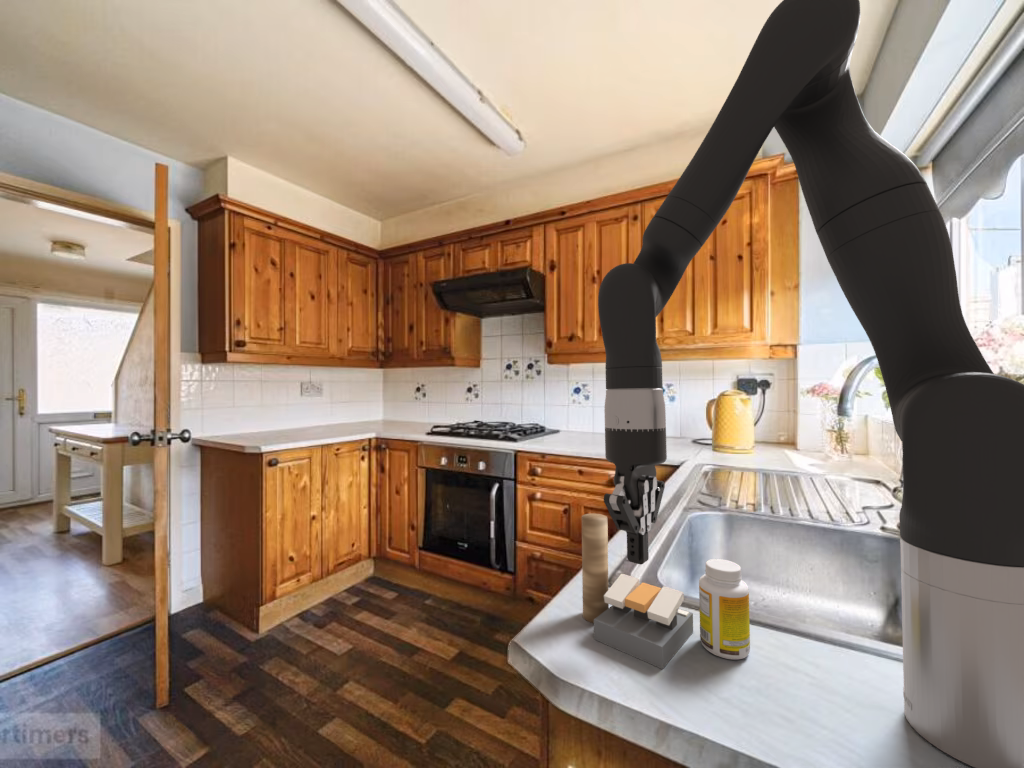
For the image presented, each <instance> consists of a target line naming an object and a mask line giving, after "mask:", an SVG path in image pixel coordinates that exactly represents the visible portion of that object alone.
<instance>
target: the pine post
mask: <svg viewBox="0 0 1024 768" xmlns="http://www.w3.org/2000/svg"><path fill="white" fill-rule="evenodd" d="M608 528H609V526H608V516H607V515H604V514H601V513H585V514H582V515H581V559H582V561H581V563H582V564H581V567H582V568H581V570H582V571H581V572H582V575H581V577H582V581H581V583H582V585H581V586H582V618H583V619H584V620H585V621H587V622H589V623H591V624H594V619H595V618H596V617H598V616H599V615H600V614H602V613H603V612H604V611H606V610H607V609H608V608H610V607H609V605H610V604H608V603H605V601H604V595H605V594H606V592H607V591H608V590H609V542H608V541H609V536H608V533H609V532H608V531H609V530H608Z"/></svg>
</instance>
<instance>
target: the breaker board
mask: <svg viewBox="0 0 1024 768" xmlns="http://www.w3.org/2000/svg"><path fill="white" fill-rule="evenodd" d="M693 633H694V613H693V612H690V611H689V610H688V611H687V610H684V609H681V608H679V609H678V615H677V616H674V618H673V620H672V621H671V623H670V625H669V626H668V625H666V624H663V623H660V622H657V621H655V620H652V619H649V618H648V614H647V611H646V612H645V613H643V612H640V611H637V610H635V609H632V608H629V607H626V606H625V607H624V608H623V609H621V608H619V607H616V606H613V605H611V606H610V607H609V608H608V609H607V610H606V611H604V612H603V613H602V614H600V615H599V616H598V617H596V618H595V619H594V623H593V640H595V641H597V642H599V643H601V644H605V646H609V647H611V648H613V649H616V650H618V651H620V652H623V653H624V654H627V655H629V656H632V657H633V658H636V659H637V660H638V659H639V660H641V661H643V662H645V663H648V664H650V665H652V666H655V667H656V668H659V669H661V670H663V669H664V668H665V667H666V665H667V664H668V663H669V662H670V661H671V660H672V658H673V657H674V656H675V655H676V654H677V653H678V651H679V650H681V648H682V647H683V646H684V644H685V643H686V642H687V641H688V640H689V638H690V637H691V636H692V634H693Z"/></svg>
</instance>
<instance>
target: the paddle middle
mask: <svg viewBox="0 0 1024 768" xmlns="http://www.w3.org/2000/svg"><path fill="white" fill-rule="evenodd" d="M661 589H662V587H659V586H656V585H652V584H649V583H647V582H641V583H640V585H639V586H638V587H637V588H636V589H635V590H634V591H633V592H632V593H630V594H629V595H628V596H627V597H626V598H625V606H626V607H629V608H632V609H635V610H637V611H640V612H643V613H645V612H646V611H647V610H648V609H649V607H650V606H651V604H652V603H653V601H654V600H655V598H656V597H657V595H658V594H659V592H660V590H661Z"/></svg>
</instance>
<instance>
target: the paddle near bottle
mask: <svg viewBox="0 0 1024 768" xmlns="http://www.w3.org/2000/svg"><path fill="white" fill-rule="evenodd" d="M684 595H685V594H684V591H681V590H677V589H674V588H672V587H668V586H665V585H663V586H662V587H661V590H660V592H659V594H658V595H657V597H656V598H655V600H654V601H653V603H652V604H651V606H650V607H649V609H648V610H647V614H648V618H649V619H652V620H655V621H657V622H660V623H663V624H666V625H668V626H669V625H670V623H671V621H672V620H673V618H674V616H677V615H678V609H680V608H681V605H682V604H683V602H684V600H685V596H684Z"/></svg>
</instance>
